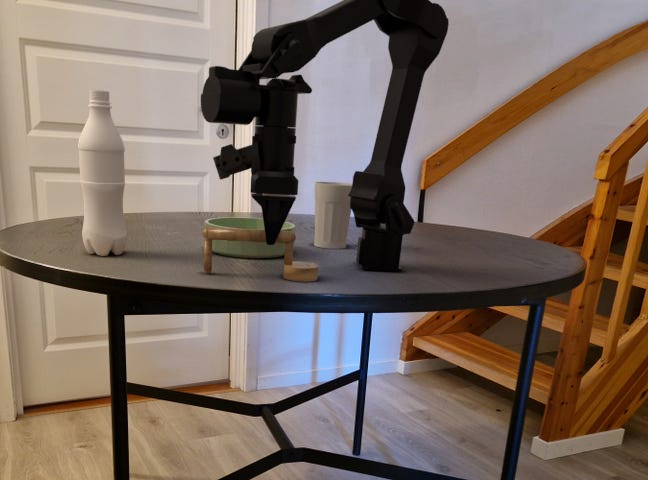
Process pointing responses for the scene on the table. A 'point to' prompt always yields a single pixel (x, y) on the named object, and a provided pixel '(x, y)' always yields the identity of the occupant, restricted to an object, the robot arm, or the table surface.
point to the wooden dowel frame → (291, 269)
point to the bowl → (244, 247)
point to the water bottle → (102, 179)
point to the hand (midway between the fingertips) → (269, 239)
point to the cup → (332, 214)
